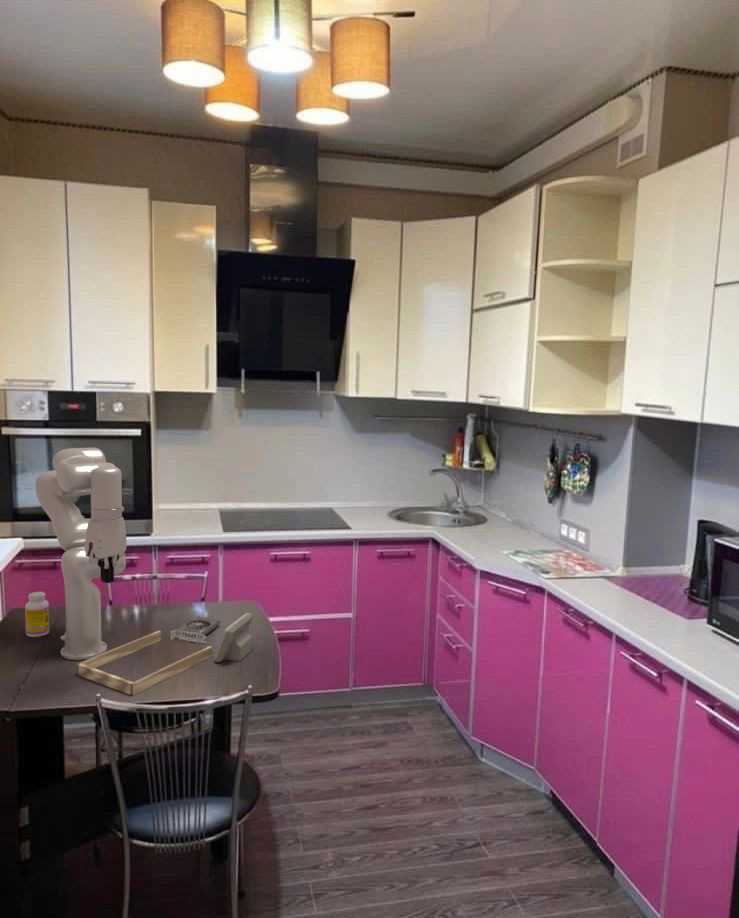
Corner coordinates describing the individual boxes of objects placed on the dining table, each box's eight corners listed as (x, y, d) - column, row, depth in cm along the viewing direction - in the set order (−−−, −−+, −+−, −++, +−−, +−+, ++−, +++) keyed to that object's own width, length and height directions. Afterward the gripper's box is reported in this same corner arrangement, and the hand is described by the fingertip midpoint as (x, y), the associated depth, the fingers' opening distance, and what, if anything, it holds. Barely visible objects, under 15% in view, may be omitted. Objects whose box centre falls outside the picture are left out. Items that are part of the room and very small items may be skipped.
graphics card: (205, 636, 207) (169, 630, 209) (204, 647, 207) (169, 641, 210) (229, 618, 223) (195, 612, 226) (228, 629, 223) (195, 623, 226)
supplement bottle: (48, 636, 209) (47, 596, 208) (24, 639, 207) (23, 598, 205) (50, 628, 216) (49, 589, 214) (27, 631, 213) (25, 591, 211)
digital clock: (239, 641, 211) (239, 609, 210) (263, 648, 207) (263, 614, 206) (205, 660, 196) (205, 625, 195) (230, 667, 192) (230, 631, 191)
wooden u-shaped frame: (76, 674, 184) (76, 664, 184) (158, 639, 210) (158, 630, 210) (133, 695, 174) (132, 684, 173) (212, 656, 199) (212, 646, 199)
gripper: (119, 507, 185) (120, 572, 188) (72, 516, 172) (73, 586, 175) (139, 511, 182) (139, 577, 184) (92, 520, 169) (93, 591, 171)
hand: (107, 581), depth 179 cm, fingers closed
